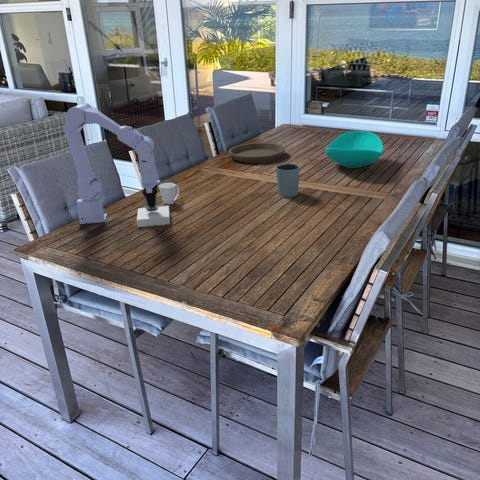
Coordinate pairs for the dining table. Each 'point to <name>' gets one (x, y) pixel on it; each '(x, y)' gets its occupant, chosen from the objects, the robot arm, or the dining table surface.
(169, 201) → the cup
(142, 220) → the base block
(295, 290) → the dining table surface
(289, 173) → the drinking glass
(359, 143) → the table top decor
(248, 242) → the dining table surface
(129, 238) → the dining table surface
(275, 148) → the plant saucer
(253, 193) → the dining table surface
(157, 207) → the grey cylinder
